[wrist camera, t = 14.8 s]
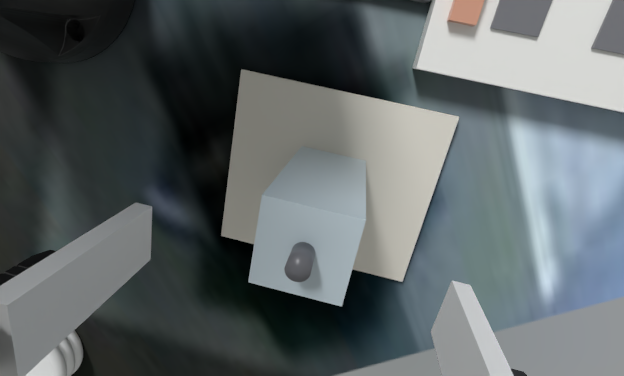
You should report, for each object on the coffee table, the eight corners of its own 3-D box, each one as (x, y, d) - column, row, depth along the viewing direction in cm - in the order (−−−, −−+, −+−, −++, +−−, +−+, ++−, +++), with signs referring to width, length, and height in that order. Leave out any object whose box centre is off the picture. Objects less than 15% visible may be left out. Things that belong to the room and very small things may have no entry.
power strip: (288, 42, 25) (279, 39, 22) (312, -110, 22) (305, -134, 19) (842, 159, 22) (903, 170, 20) (959, 5, 19) (1049, -4, 17)
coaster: (43, 288, 37) (11, 309, 33) (103, 357, 39) (78, 384, 35) (-13, 320, 39) (-47, 343, 36) (46, 383, 41) (19, 410, 38)
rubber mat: (223, 232, 31) (221, 235, 30) (243, 69, 26) (241, 69, 26) (401, 277, 30) (402, 281, 29) (457, 116, 25) (459, 117, 24)
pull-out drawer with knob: (290, 204, 28) (237, 301, 17) (301, 146, 27) (251, 207, 15) (350, 219, 28) (339, 328, 16) (365, 160, 26) (366, 235, 15)
